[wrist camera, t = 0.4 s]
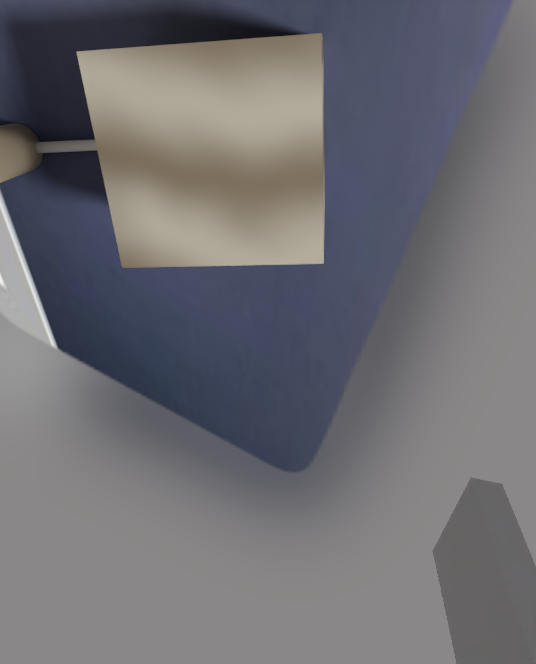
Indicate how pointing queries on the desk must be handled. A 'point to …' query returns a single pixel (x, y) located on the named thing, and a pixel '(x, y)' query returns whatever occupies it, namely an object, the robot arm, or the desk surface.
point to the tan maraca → (30, 149)
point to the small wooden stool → (212, 150)
